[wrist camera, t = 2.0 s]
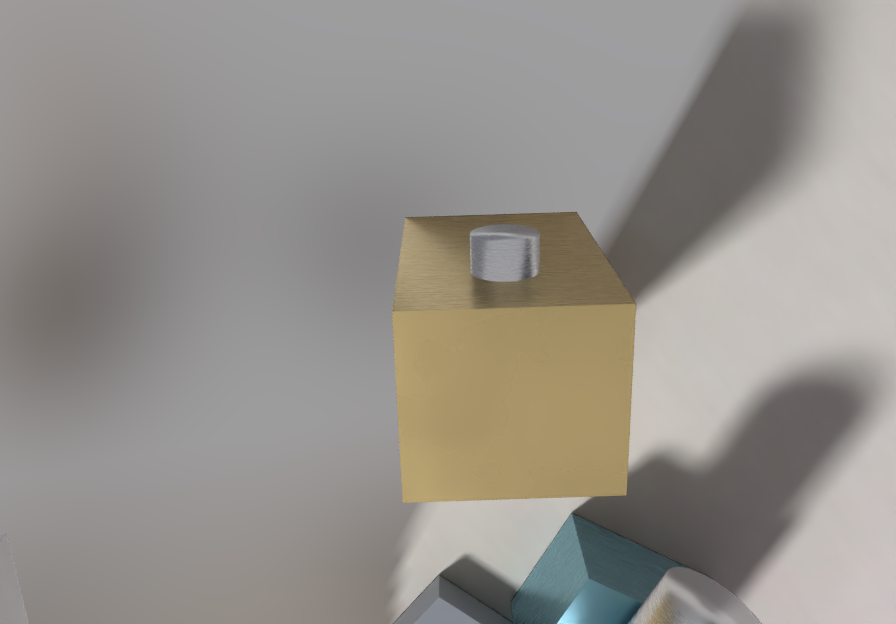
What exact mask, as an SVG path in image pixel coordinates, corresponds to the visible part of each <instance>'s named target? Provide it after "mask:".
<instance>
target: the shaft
mask: <svg viewBox="0 0 896 624" xmlns="http://www.w3.org/2000/svg"><path fill="white" fill-rule="evenodd" d="M511 611H512V619H513V624H762V623H761V622H760V621H759V620H758V618H757V617H756V616H755V615H754V614H753V613H752V611H751V610H750V609H749V608H748V607H747V606H746V605H745V604H744V603H743V602H742V601H741V600H739V599H738V598H737V597H736V596H735V595H734V594H732V593H731V592H730V591H729V590H727V589H726V588H725V587H723V586H722V585H720V584H719V583H717V582H716V581H714V580H713V579H711V578H709V577H707V576H705V575H703V574H701V573H699V572H697V571H694V570H692V569H690V568H688V567H686V566H683V565H681V564H679V563H677V562H675V561H673V560H671V559H668V558H666V557H664V556H662V555H660V554H658V553H656V552H653V551H651V550H649V549H647V548H645V547H643V546H641V545H639V544H636V543H634V542H632V541H630V540H628V539H626V538H624V537H621V536H619V535H617V534H615V533H613V532H611V531H609V530H606V529H604V528H602V527H600V526H598V525H596V524H594V523H592V522H589V521H587V520H585V519H583V518H581V517H579V516H577V515H574V514H572V513H571V515H570V516H569V518H568V519H567V521H566V522H565V524H564V525H563V527H562V528H561V529H560V531H559V532H558V534H557V535H556V537H555V538H554V540H553V541H552V543H551V544H550V546H549V547H548V548H547V550H546V551H545V553H544V554H543V556H542V557H541V559H540V560H539V562H538V563H537V565H536V566H535V567H534V569H533V570H532V572H531V573H530V575H529V576H528V578H527V579H526V581H525V582H524V584H523V585H522V587H521V588H520V589H519V591H518V592H517V594H516V595H515V597H514V598H513V600H512V601H511Z"/></svg>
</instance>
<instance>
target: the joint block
mask: <svg viewBox="0 0 896 624" xmlns="http://www.w3.org/2000/svg"><path fill="white" fill-rule="evenodd" d="M392 315H393V334H394V353H395V370H396V388H397V405H398V406H397V407H398V426H399V444H400V460H401V461H400V462H401V478H402V479H401V480H402V498H403V503H404V502H437V501H468V500H499V499H530V498H561V497H592V496H623V495H627V476H628V456H629V436H630V416H631V396H632V376H633V355H634V335H635V315H636V303H635V301H634V300H633V298H632V297H631V295H630V294H629V292H628V291H627V289H626V288H625V286H624V284H623V283H622V281H621V280H620V278H619V277H618V275H617V274H616V272H615V271H614V269H613V267H612V266H611V264H610V263H609V261H608V260H607V258H606V257H605V255H604V254H603V252H602V250H601V249H600V247H599V246H598V244H597V243H596V241H595V240H594V238H593V237H592V235H591V234H590V232H589V230H588V229H587V227H586V226H585V224H584V223H583V221H582V220H581V218H580V217H579V215H578V213H577V212H563V213H562V212H560V213H530V214H499V215H498V214H497V215H465V216H436V217H435V216H434V217H405V223H404V230H403V239H402V245H401V252H400V259H399V267H398V274H397V281H396V289H395V295H394V303H393V310H392Z"/></svg>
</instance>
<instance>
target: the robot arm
mask: <svg viewBox="0 0 896 624" xmlns="http://www.w3.org/2000/svg"><path fill="white" fill-rule="evenodd" d="M0 624H29V623H28V619H27V615H26V610H25V606H24V602H23V598H22V594H21V590H20V586H19V581H18V578H17V573H16V569H15V565H14V561H13V557H12V553H11V548H10V544H9V540H8V536H7V534H0Z"/></svg>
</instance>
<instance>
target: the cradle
mask: <svg viewBox="0 0 896 624" xmlns="http://www.w3.org/2000/svg"><path fill="white" fill-rule="evenodd" d="M393 624H513V623H512V622H511V621H509V620H507V619H506V618H504V617H503V616H501V615H500V614H498V613H497V612H495V611H494V610H492V609H491V608H489V607H487V606H486V605H484V604H483V603H481V602H480V601H478V600H477V599H475V598H474V597H472V596H470V595H469V594H467V593H466V592H464V591H463V590H461V589H460V588H458V587H457V586H455V585H453V584H452V583H450V582H449V581H447V580H446V579H444V578H443V577H441V576H440V575H438V577H437V578H436V579H435V580H434V581H433V582H432V583H431V584H430V585H429V586H428V587H427V588H426V589H425V590H424V591H423V593H422V594H421V595H420V596H419V597H418V598H417V599H416V600H415V601H414V602H413V603H412V604H411V605H410V606H409V607H408V609H407V610H406V611H405V612H404V613H403V614H402V615H401V616H400V617H399V618H398V619H397V620H396V621H395V622H394V623H393Z"/></svg>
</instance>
